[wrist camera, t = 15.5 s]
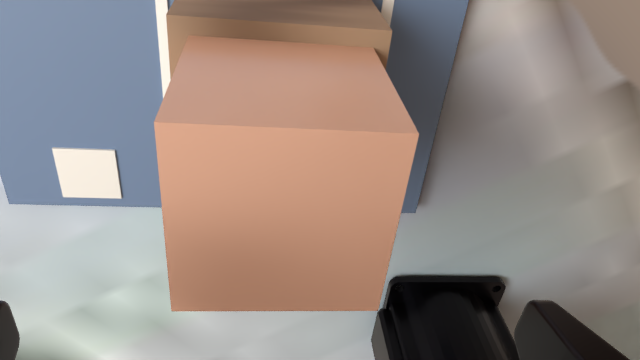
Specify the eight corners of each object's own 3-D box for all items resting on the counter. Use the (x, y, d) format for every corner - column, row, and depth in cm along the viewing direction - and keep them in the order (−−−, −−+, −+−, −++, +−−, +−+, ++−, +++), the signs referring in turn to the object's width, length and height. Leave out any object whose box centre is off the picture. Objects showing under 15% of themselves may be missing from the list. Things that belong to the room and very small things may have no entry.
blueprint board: (478, -68, 18) (486, -65, 17) (412, 205, 24) (416, 214, 24) (-78, -123, 15) (-91, -121, 15) (14, 195, 22) (8, 205, 21)
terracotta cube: (373, 47, 14) (419, 133, 10) (350, 194, 17) (378, 310, 12) (188, 35, 13) (153, 121, 9) (195, 190, 16) (171, 311, 12)
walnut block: (363, -13, 18) (392, 30, 14) (342, 135, 21) (361, 207, 17) (190, -27, 17) (165, 14, 13) (196, 129, 20) (179, 202, 16)
